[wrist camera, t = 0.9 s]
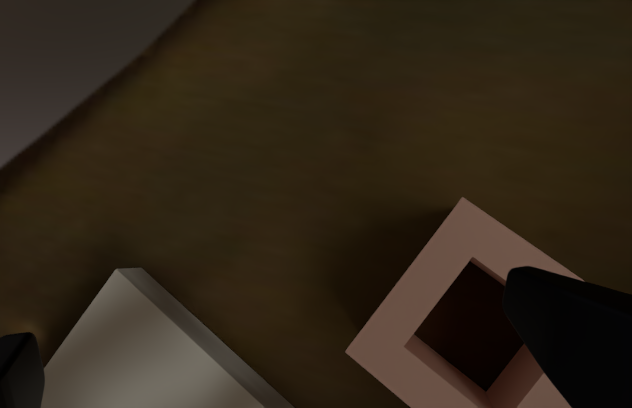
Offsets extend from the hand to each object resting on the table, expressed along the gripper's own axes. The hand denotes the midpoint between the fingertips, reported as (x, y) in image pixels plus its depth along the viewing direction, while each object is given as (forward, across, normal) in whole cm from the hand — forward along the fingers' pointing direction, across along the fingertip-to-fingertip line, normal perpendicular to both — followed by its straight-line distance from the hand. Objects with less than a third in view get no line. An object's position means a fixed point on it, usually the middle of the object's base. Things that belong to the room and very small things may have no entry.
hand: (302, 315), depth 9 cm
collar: (+7, -9, +7) cm, 13 cm away
